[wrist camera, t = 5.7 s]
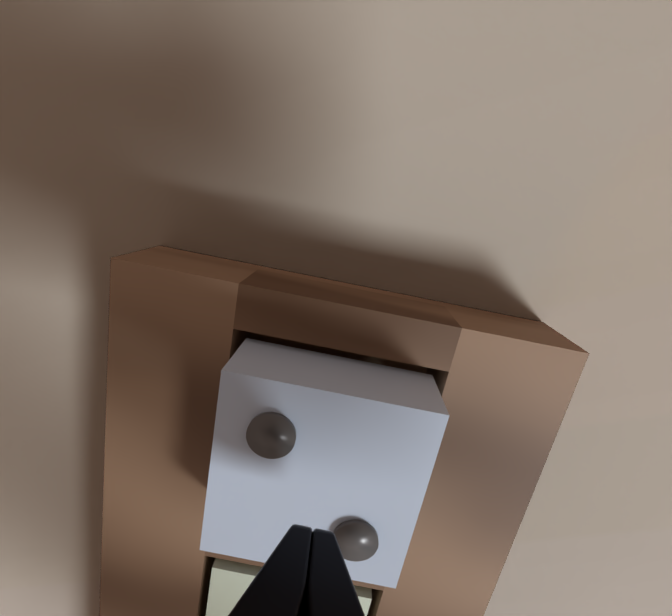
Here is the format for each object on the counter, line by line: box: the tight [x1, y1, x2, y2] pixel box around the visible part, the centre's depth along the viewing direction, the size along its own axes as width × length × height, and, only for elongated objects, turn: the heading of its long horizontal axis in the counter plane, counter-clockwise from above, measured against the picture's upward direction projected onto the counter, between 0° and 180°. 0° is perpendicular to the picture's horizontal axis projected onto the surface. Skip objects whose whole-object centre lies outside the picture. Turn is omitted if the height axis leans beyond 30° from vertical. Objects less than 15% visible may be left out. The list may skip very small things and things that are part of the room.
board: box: [99, 246, 589, 616], centre depth 14 cm, size 23×12×2 cm, turn 169°
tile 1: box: [206, 558, 372, 616], centre depth 14 cm, size 5×5×2 cm
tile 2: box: [200, 338, 450, 589], centre depth 10 cm, size 5×5×2 cm
